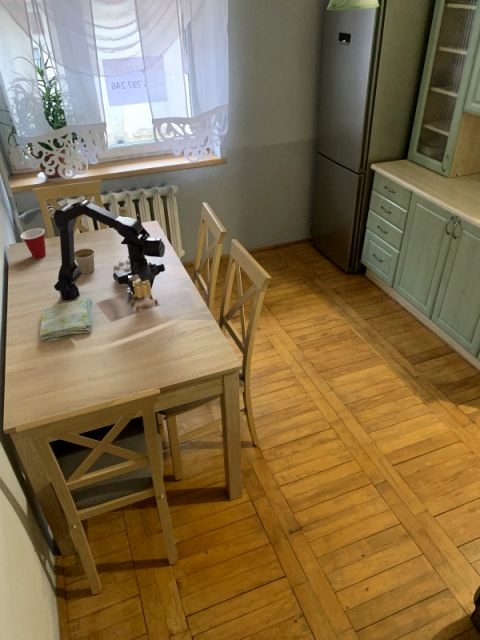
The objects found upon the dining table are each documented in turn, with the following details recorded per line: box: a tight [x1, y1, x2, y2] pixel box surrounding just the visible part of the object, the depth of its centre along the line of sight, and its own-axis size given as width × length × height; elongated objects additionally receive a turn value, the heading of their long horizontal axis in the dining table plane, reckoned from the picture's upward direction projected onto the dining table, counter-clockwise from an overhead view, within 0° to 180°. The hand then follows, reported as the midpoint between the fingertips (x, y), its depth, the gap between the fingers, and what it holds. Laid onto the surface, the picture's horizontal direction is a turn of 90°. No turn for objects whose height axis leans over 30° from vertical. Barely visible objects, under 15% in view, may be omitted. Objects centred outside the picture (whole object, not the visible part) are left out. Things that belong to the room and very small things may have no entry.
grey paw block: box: [112, 259, 140, 288], centre depth 197 cm, size 10×13×9 cm
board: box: [95, 292, 160, 323], centre depth 182 cm, size 20×16×3 cm
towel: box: [39, 298, 93, 343], centre depth 172 cm, size 18×21×5 cm
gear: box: [126, 287, 140, 299], centre depth 186 cm, size 7×7×4 cm
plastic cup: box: [19, 227, 47, 260], centre depth 218 cm, size 11×11×12 cm
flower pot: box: [74, 247, 96, 274], centre depth 206 cm, size 9×9×9 cm
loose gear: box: [133, 279, 152, 298], centre depth 178 cm, size 7×7×6 cm
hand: (142, 291), depth 179 cm, fingers closed on loose gear, 7 cm apart
